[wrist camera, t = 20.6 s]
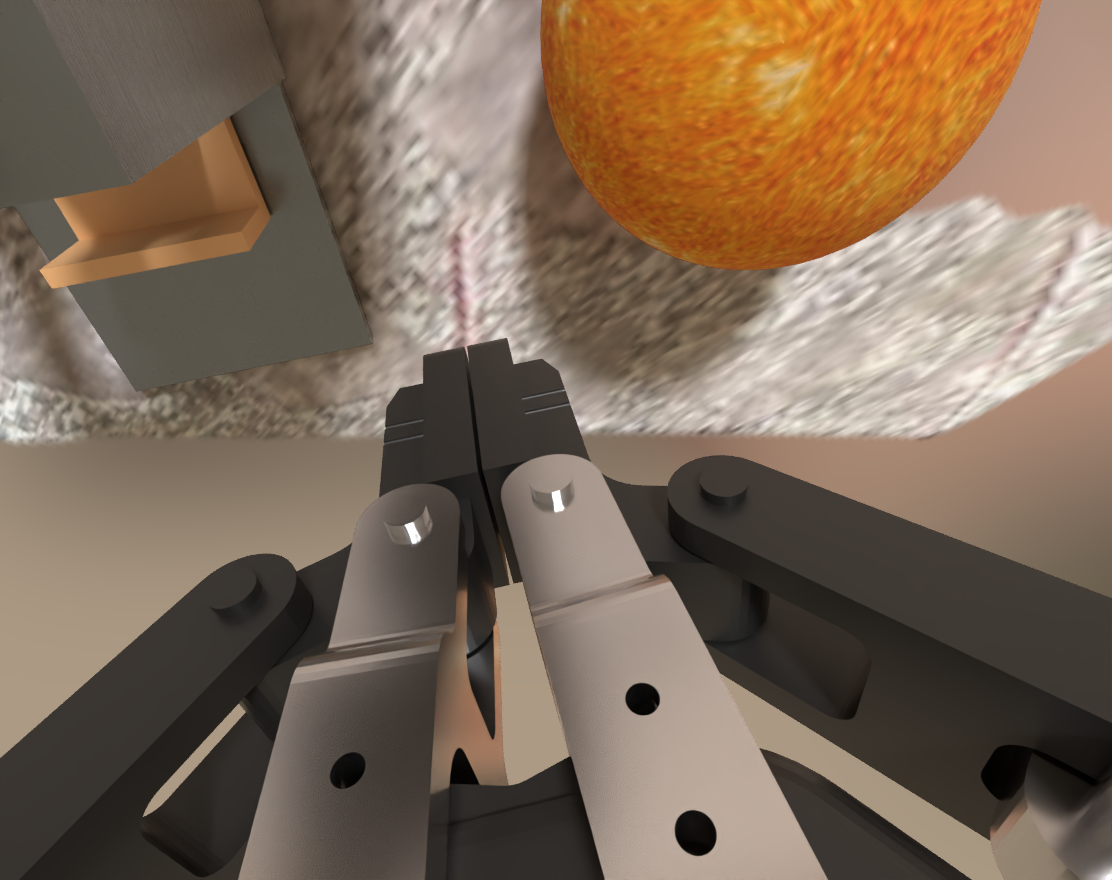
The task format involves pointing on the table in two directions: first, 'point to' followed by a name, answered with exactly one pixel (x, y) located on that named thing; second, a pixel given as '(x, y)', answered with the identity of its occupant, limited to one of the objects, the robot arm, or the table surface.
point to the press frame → (146, 142)
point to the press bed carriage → (165, 214)
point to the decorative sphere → (772, 113)
